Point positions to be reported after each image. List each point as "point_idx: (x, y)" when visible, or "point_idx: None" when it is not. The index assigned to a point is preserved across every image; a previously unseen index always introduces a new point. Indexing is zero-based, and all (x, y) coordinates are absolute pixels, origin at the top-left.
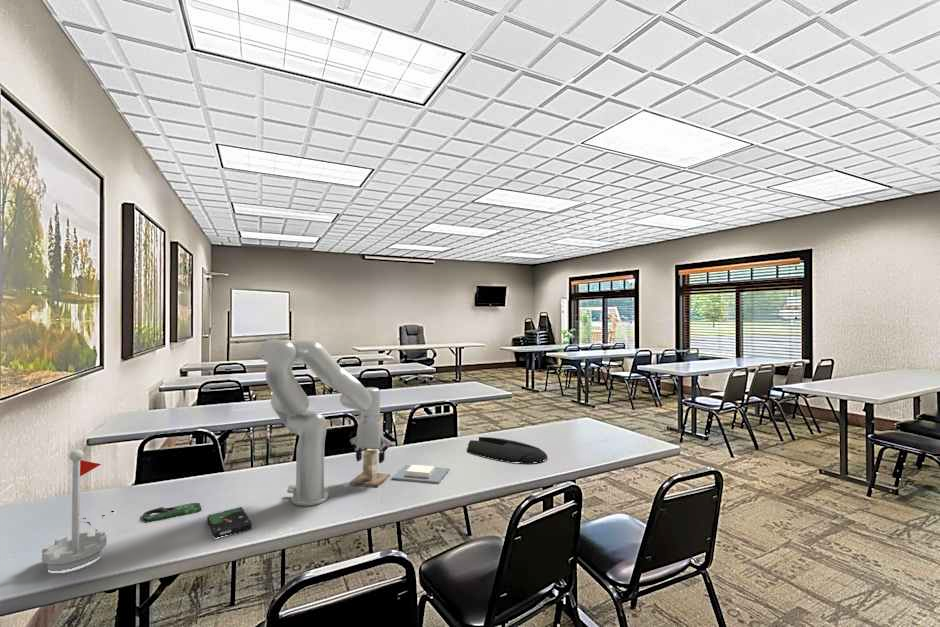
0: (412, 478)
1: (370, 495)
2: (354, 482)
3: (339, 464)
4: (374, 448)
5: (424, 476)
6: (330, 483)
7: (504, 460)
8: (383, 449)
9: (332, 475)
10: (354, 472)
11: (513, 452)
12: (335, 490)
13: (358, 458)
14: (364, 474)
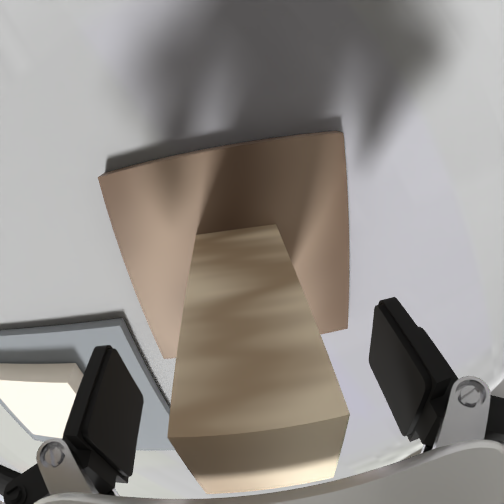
0: (30, 344)
1: (68, 40)
2: (300, 140)
3: (480, 348)
4: (95, 497)
5: (4, 366)
6: (453, 121)
7: (9, 472)
8: (42, 482)
9: (484, 235)
10: None
11: (4, 487)
12: (362, 15)
13: (388, 324)
14: (269, 243)
